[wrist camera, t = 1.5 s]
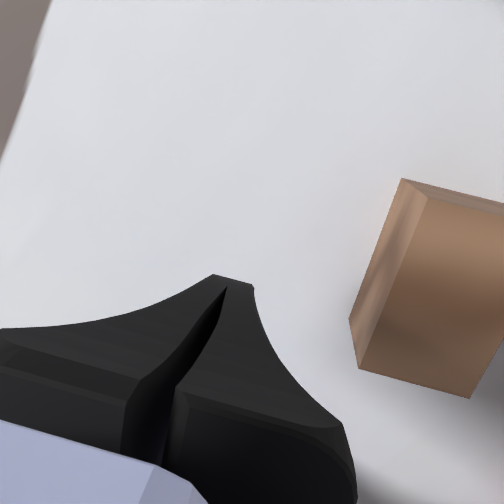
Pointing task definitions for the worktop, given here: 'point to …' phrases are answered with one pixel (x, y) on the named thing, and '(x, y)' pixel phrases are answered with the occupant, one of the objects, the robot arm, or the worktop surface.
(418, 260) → the walnut block
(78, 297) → the worktop surface
